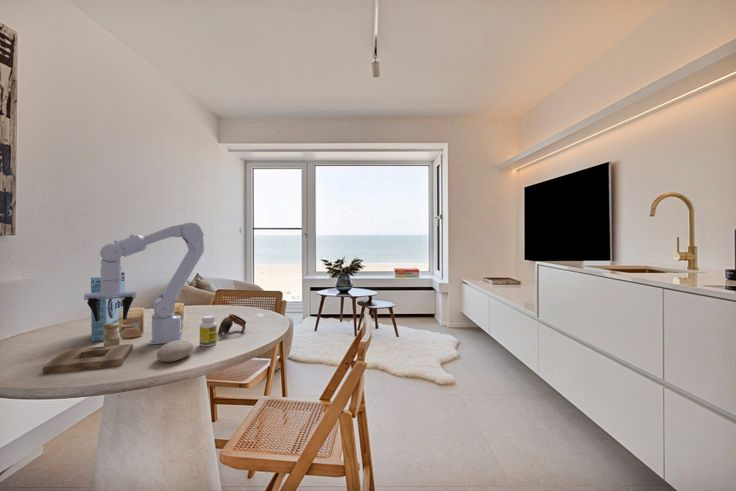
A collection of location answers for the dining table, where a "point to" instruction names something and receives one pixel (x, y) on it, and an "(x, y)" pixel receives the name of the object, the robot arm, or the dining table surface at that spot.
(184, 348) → the decorative stone
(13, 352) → the dining table surface
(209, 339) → the supplement bottle
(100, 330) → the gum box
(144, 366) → the dining table surface
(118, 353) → the carrier board
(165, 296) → the robot arm
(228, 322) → the brown arch
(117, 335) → the beige wooden cylinder
